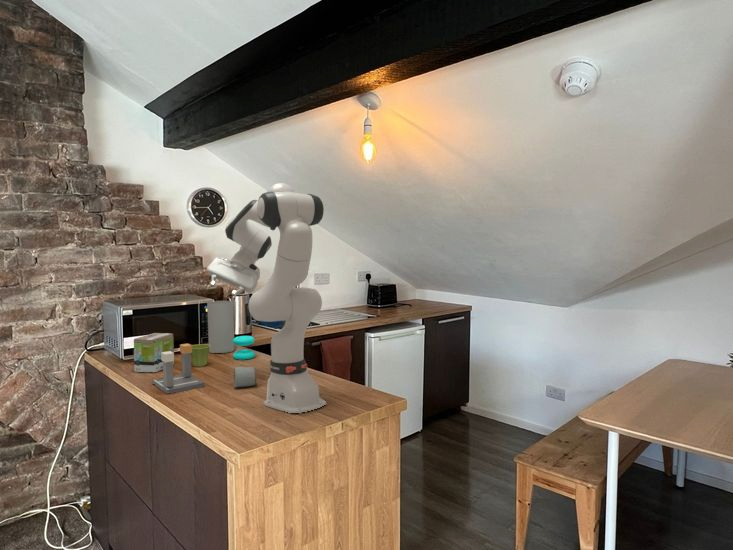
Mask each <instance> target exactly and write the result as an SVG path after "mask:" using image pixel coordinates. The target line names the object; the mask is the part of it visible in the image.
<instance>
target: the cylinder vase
mask: <svg viewBox="0 0 733 550" xmlns="http://www.w3.org/2000/svg"><path fill="white" fill-rule="evenodd" d="M206 305H207V307H206V308H207V332H208V333H207V334H208V345H210V347H209V352H208V353H210V354H214V353H223V354H228V352H229V353H233V351H234V352H235V346H236V345H235V344H234V343H233V339H234V338H235V322H234V321H235V319H234V301H232V300H216V301H209V302H207V304H206Z"/></svg>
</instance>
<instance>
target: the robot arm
mask: <svg viewBox="0 0 733 550" xmlns="http://www.w3.org/2000/svg"><path fill="white" fill-rule="evenodd" d="M324 210H325V209H324V203H323V201H322V199H321V198H320V197H319V196H317V195H315V194H311V193H300V192H295V190H294V188H292V186H291V185H290V184H287V183H284V182H277V183H275V184H273V185H271V186H270V188H268V189H267V191H266V192H264V193H262V194H261V195H260V196H259V197H258V199H253V200H251V201H249V202H248V203H247V204H246V205H245V206H244V207H243V208H242V209H241V210H240V211H239V213H237V215H236V216H234V217H233V218H231V220H230V221H229V222H228V223H227V225H226V226H225V230H224V231H225V235H226V238H227V239H228V240H230V241H232V242H234V243H236V244H237V245H239V246H240V247H239V249H238V251H236V253H234V255H233V257H231V259H226V258H224V257H223V256H219V257H217V256H216V257H215V258H214V259H213V261H212V262H211V263H209V265H208V266H207V267H206V274H207V276H209V277H211V281H210V282H209V287H212V288H214V287H215V285H216V281H217V280H219V281H220V282H223V283H226V284H228V285H230V286H232V287H234V288H236V290H235V289H233V290H232V292H231V296H233V297H234V298H236V296H237V295H239V294H242V293H243V292H246V293H248V294H252V293H253V294H252V295H251V296H250V298H249V301H248V311H249V314H250V316H251V317H252V319H254V321H257V322H266V323H268V322H269V323H272V322H281V321H282V322H284V321H285V323H284V325H283V327H282V328H281V329H279V330H277V332H275V334H273V336H272V338H271V339H270V354H271V359H270V360H269V370H270V375H269V377H268V379H267V386H266V387H267V388H266V400H264V401H263V406H265V407H268V408H272V409H273V410H279V411H281V412H284V411H285V413H287V412H288V414H290V413H299V414H303V413H302V412H305V413H308V412H307V411H310V412H312V411H311V410H313V411H315V410H314V409H317V408H320V407H322V406H324V405H325V404H326V403H327V401H326V400H324V399H323V398H322V397H321V396H320V390H319V384H318V382H317V381H314V379H313V378H312V377H311V375H310V374H309V372H308V370H307V369H308V363H306V360H305V358H304V345H305V343H304V342H305V335H306V331H307V328H308V327H309V325H310V323H311V321H312V320H313V319H314V318H315V317H316V316H317V315H318V314H319V313H320V311H321V309H322V306H323V301H322V300H323V299H322V296H321V294H320V292H319V291H318V290H317V289H316V288H309V287H304V286H303V287H297V286H299V285H300V284H302V283H304V282H305V280H307V277H308V276H309V271H310V263H311V258H312V251H313V229H312V228H311V226H315V225H319V224H320V222H321V221H322V219H323V217H324V212H325V211H324ZM248 220H250V221H253V222H255V223H258V224H259V225H261V226H264V227H267V228H269V229H270V230H271V231H275V230H276V229H278V230H279V241H278V246H277V251H276V257H275V258H276V259H275V263H274V268H273V272H272V273H271V276H270V278H269V279H268V280H267V281H266V283H265V284H264V285H263V286H262V287H261V288H260V289H258V290H257V291H256V292H254V291H255V290H256V288H257V286H258V282H259V280H260V277H261V276H260V275H261V271H260V268H259V267H258V266H257V265H256V262H257V261H259V260H260V259H263V258H264V257H265V255H266V254H267V252H268V251H269V250H270V248H271V247H272V245H273V244H272V238H271V236H270V235H269V234H268V233H267V232H265V231H264V230H262V229H260V228H259V227H257V226H255V225H254V224H253V223H251V222H250V221H248ZM324 407H325V406H324ZM322 408H323V407H322ZM320 409H321V408H320ZM317 410H318V409H317Z"/></svg>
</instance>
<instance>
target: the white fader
mask: <svg viewBox="0 0 733 550" xmlns="http://www.w3.org/2000/svg"><path fill="white" fill-rule="evenodd" d="M161 360H162V361H163V369H162V370H163V371H162V372H163V378H164V386H166V387H172V386H174V381H173V376H174V365H173V361H174V362H175V352H174V353H173V352H171V351H167V352H161Z"/></svg>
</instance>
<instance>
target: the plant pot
mask: <svg viewBox="0 0 733 550" xmlns="http://www.w3.org/2000/svg"><path fill="white" fill-rule="evenodd" d="M191 345H192V353H191V364H192V367H197V368H200V367H205V366H207V365H208V361H209V353H210V352H209V347H210V345H209V344H206V343H205V344H201V343H200V344H191Z"/></svg>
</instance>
